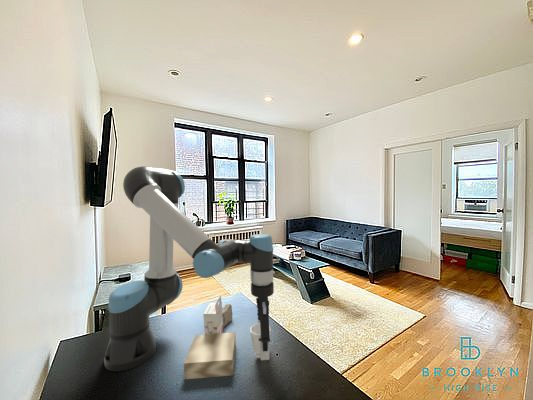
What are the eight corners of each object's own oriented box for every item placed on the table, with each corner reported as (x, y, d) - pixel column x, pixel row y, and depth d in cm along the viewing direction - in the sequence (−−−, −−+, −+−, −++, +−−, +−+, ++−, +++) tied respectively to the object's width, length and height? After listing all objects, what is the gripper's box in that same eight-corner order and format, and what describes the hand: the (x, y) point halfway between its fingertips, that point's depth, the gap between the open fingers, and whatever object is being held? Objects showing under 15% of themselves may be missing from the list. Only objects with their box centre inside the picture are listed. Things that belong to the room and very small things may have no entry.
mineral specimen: (220, 315, 104) (220, 301, 104) (234, 317, 101) (234, 303, 101) (203, 330, 92) (202, 314, 92) (218, 333, 89) (218, 317, 89)
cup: (246, 358, 73) (246, 333, 73) (257, 339, 82) (256, 317, 82) (268, 362, 71) (267, 336, 70) (276, 343, 80) (275, 319, 80)
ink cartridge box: (210, 331, 91) (209, 294, 90) (223, 331, 91) (221, 294, 90) (204, 345, 82) (202, 305, 81) (218, 345, 82) (216, 305, 81)
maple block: (184, 380, 67) (183, 363, 67) (195, 349, 81) (195, 335, 81) (232, 376, 68) (232, 359, 68) (235, 346, 82) (235, 332, 82)
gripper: (278, 294, 66) (280, 372, 66) (269, 270, 88) (270, 329, 88) (252, 296, 65) (254, 375, 65) (249, 271, 87) (250, 330, 87)
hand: (263, 348), depth 77 cm, fingers closed on cup, 9 cm apart
